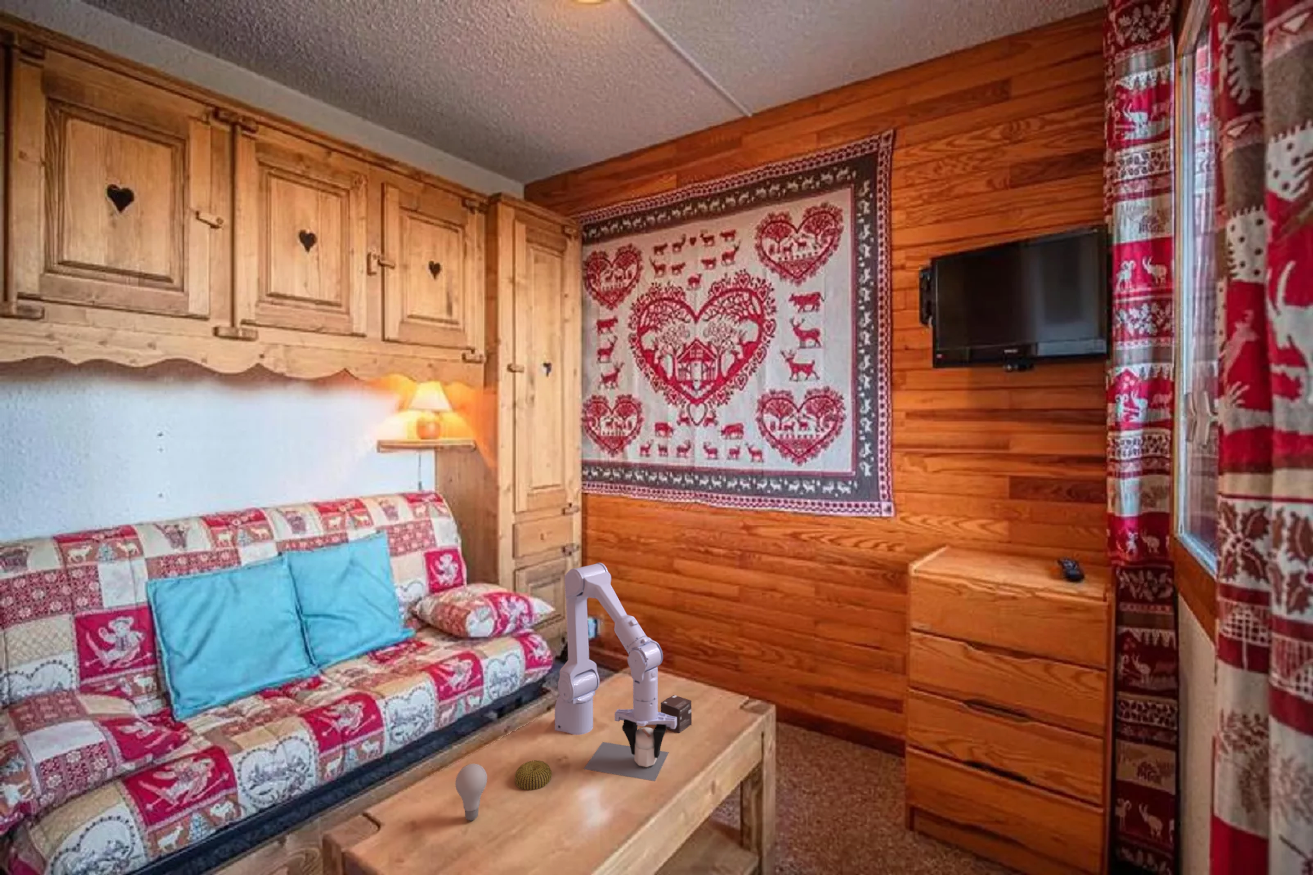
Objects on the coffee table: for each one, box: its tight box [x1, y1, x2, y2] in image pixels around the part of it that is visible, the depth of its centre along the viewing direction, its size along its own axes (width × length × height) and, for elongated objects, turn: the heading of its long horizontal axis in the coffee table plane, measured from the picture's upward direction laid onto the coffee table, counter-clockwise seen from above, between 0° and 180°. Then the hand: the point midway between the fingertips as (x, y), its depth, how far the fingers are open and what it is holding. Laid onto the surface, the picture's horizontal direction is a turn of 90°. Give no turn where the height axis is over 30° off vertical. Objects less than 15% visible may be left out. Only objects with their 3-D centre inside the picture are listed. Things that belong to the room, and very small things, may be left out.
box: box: [660, 694, 693, 734], centre depth 156 cm, size 6×6×7 cm
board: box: [583, 741, 670, 782], centre depth 140 cm, size 17×12×1 cm
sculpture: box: [514, 759, 552, 791], centre depth 133 cm, size 8×4×8 cm
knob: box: [634, 726, 657, 768], centre depth 139 cm, size 5×5×7 cm
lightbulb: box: [454, 763, 488, 821], centre depth 121 cm, size 6×6×11 cm
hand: (645, 754), depth 139 cm, fingers closed on knob, 5 cm apart
